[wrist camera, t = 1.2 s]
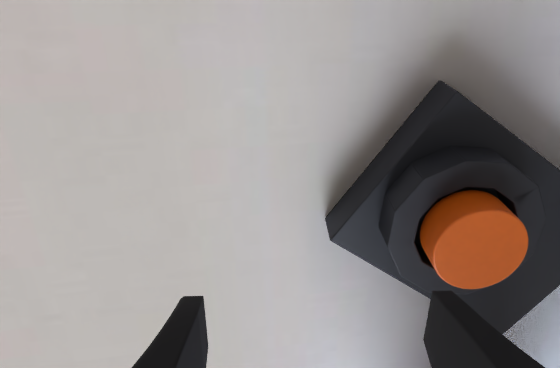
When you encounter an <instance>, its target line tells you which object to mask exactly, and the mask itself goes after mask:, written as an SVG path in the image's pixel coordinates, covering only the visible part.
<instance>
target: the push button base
mask: <svg viewBox="0 0 560 368" xmlns="http://www.w3.org/2000/svg"><path fill="white" fill-rule="evenodd" d="M466 190H478V191H484V192H487V193H490V194H492V195H494V196H495V197H497V198H498V199H499V200H500V201H501V202H502V203H503V204H504V205H505V206H506V207H507V208H509V209H510V210H511V211H512V212H513V213H514V214H515V215H516V216H517V217H518V218H519V219H520V220H521V222H522V223H523V224H524V226H525V228H526V230H527V234H528V249H527V252H526V255H525V257H524V259H523V261H522V262H521V264H520V265H519V267H518V268H517V269H516V270H515V271H514V272H513V273H512V274H511V275H509V276H508V277H507V278H505V279H504V280H502V281H500V282H498V283H496V284H494V285H491V286H488V287H484V288H479V289H462V288H458V287H455V286H452V285H450V284H448V283H447V282H445V281H444V280H442V279H441V278H440V277H439V275H438V274H437V273H436V271H435V269H434V267H433V266H432V264H431V262H430V260H429V258H428V257H427V255H426V253H425V251H424V249H423V247H422V245H421V242H420V229H421V225H422V222H423V220H424V218H425V216H426V214H427V213H428V212H429V210H430V209H431V208H432V207H433V206H434V205H435V204H436V203H437V202H439V201H440V200H442V199H443V198H445V197H447V196H449V195H451V194H454V193H456V192H460V191H466ZM325 220H326V225H327V229H328V233H329V237H330V240H331V241H332V242H334V243H336V244H337V245H339V246H341V247H342V248H344V249H346V250H348V251H349V252H351V253H353V254H354V255H356V256H358V257H360V258H361V259H363V260H365V261H366V262H368V263H370V264H372V265H373V266H375V267H377V268H378V269H380V270H382V271H384V272H385V273H387V274H389V275H390V276H392V277H394V278H396V279H397V280H399V281H401V282H402V283H404V284H406V285H408V286H409V287H411V288H413V289H414V290H416V291H418V292H420V293H421V294H423V295H425V296H426V297H428V298H430V299H431V295H432V291H448V290H452V291H453V292H454V293H455V294H456V295H457V296H459V297H460V298H461V299H462V300H463V301H464V302H465V303H467V304H468V305H469V306H470V307H471V308H472V309H473V310H474V311H476V312H477V313H478V314H479V315H480V316H481V317H482V318H483V319H485V320H486V321H487V322H488V323H489V324H490V325H491V326H493V327H494V328H495V329H496V330H497V331H499V332H500V333H501V334H503V333H505V332H506V331H507V330H508V329H509V328H510V327H512V326H513V325H514V324H515V323H516V322H517V321H519V320H520V319H521V318H522V317H523V316H524V315H525V314H527V313H528V312H529V311H530V310H531V309H532V308H534V307H535V306H536V305H537V304H538V303H539V302H541V301H542V300H543V299H544V298H545V297H546V296H548V295H549V294H550V293H551V292H552V291H553V290H554V289H556V288H557V287H558V286H559V285H560V170H559V169H558V168H556V167H555V166H554V165H553V164H551V163H550V162H549V161H547V160H546V159H545V158H543V157H542V156H541V155H540V154H538V153H537V152H536V151H534V150H533V149H532V148H530V147H529V146H528V145H527V144H525V143H524V142H523V141H521V140H520V139H519V138H518V137H516V136H515V135H514V134H512V133H511V132H510V131H508V130H507V129H506V128H505V127H503V126H502V125H501V124H499V123H498V122H497V121H495V120H494V119H493V118H492V117H490V116H489V115H488V114H486V113H485V112H484V111H482V110H481V109H480V108H479V107H477V106H476V105H475V104H473V103H472V102H471V101H469V100H468V99H467V98H466V97H464V96H463V95H462V94H460V93H459V92H458V91H456V90H455V89H453V88H451V87H450V86H448V85H447V84H445V83H444V82H442V81H438V83H437V84H436V85H435V86H434V87H433V89H432V90H431V91H430V92H429V93H428V95H427V96H426V97H425V98H424V99H423V101H422V102H421V103H420V104H419V105H418V107H417V108H416V109H415V110H414V112H413V113H412V114H411V115H410V116H409V118H408V119H407V120H406V121H405V122H404V124H403V125H402V126H401V127H400V128H399V130H398V131H397V132H396V133H395V134H394V136H393V137H392V138H391V139H390V141H389V142H388V143H387V144H386V145H385V147H384V148H383V149H382V150H381V151H380V153H379V154H378V155H377V156H376V157H375V159H374V160H373V161H372V162H371V164H370V165H369V166H368V167H367V168H366V170H365V171H364V172H363V173H362V174H361V176H360V177H359V178H358V179H357V180H356V182H355V183H354V184H353V185H352V186H351V188H350V189H349V190H348V191H347V193H346V194H345V195H344V196H343V197H342V199H341V200H340V201H339V202H338V203H337V205H336V206H335V207H334V208H333V209H332V211H331V212H330V213H329V214H328V215H327V217H326V218H325Z"/></svg>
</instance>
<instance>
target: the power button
mask: <svg viewBox="0 0 560 368" xmlns="http://www.w3.org/2000/svg"><path fill="white" fill-rule="evenodd" d="M420 242H421V245H422V247H423V249H424V251H425V253H426V255H427V257H428V258H429V260H430V262H431V264H432V266H433V267H434V269H435V271H436V273H437V274H438V275H439V277H440V278H441V279H442V280H444V281H445V282H447V283H448V284H450V285H452V286H455V287H458V288H462V289H479V288H484V287H488V286H491V285H494V284H496V283H498V282H500V281H502V280H504V279H505V278H507V277H508V276H509V275H511V274H512V273H513V272H514V271H515V270H516V269H517V268H518V267H519V265H520V264H521V262H522V261H523V259H524V257H525V255H526V252H527V249H528V234H527V230H526V228H525V226H524V224H523V223H522V222H521V220H520V219H519V218H518V217H517V216H516V215H515V214H514V213H513V212H512V211H511V210H510V209H509V208H507V207H506V206H505V205H504V204H503V203H502V202H501V201H500V200H499V199H498V198H497V197H495V196H494V195H492V194H490V193H487V192H484V191H478V190H466V191H460V192H456V193H454V194H451V195H449V196H447V197H445V198H443V199H442V200H440V201H439V202H437V203H436V204H435V205H434V206H433V207H432V208H431V209H430V210H429V212H428V213H427V214H426V216H425V218H424V220H423V222H422V225H421V229H420Z"/></svg>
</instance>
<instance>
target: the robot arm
mask: <svg viewBox="0 0 560 368" xmlns="http://www.w3.org/2000/svg"><path fill="white" fill-rule="evenodd" d="M423 340H424V343H425V347H426V350H427V354H428V357H429V361H430V364H431V367H432V368H545V367H543V366H542V365H541V364H539V363H538V362H537V361H535V360H534V359H533V358H531V357H530V356H529V355H527V354H526V353H525V352H523V351H522V350H521V349H519V348H518V347H517V346H516V345H514V344H513V343H512V342H511V341H509V340H508V339H507V338H506V337H505V336H503V335H502V334H501V333H500V332H499V331H497V330H496V329H495V328H494V327H493V326H491V325H490V324H489V323H488V322H487V321H486V320H485V319H483V318H482V317H481V316H480V315H479V314H478V313H477V312H476V311H474V310H473V309H472V308H471V307H470V306H469V305H468V304H467V303H465V302H464V301H463V300H462V299H461V298H460V297H459V296H457V295H456V294H455V293H454V292H453V291H452V290H448V291H432V295H431V301H430V306H429V312H428V317H427V323H426V328H425V334H424V339H423ZM207 352H208V339H207V329H206V319H205V309H204V299H203V296H184V297H183V298H181V299H180V301H179V303H178V304H177V306H176V308H175V309H174V311H173V312H172V314H171V316H170V317H169V319H168V320H167V322H166V323H165V325H164V326H163V328H162V329H161V330H160V332H159V333H158V335H157V336H156V337H155V339H154V340H153V342H152V343H151V344H150V346H149V347H148V348H147V350H146V351H145V352H144V353H143V355H142V356H141V357H140V358H139V359H138V361H137V362H136V363H135V364H134V366H133V367H132V368H206V362H207Z"/></svg>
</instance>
